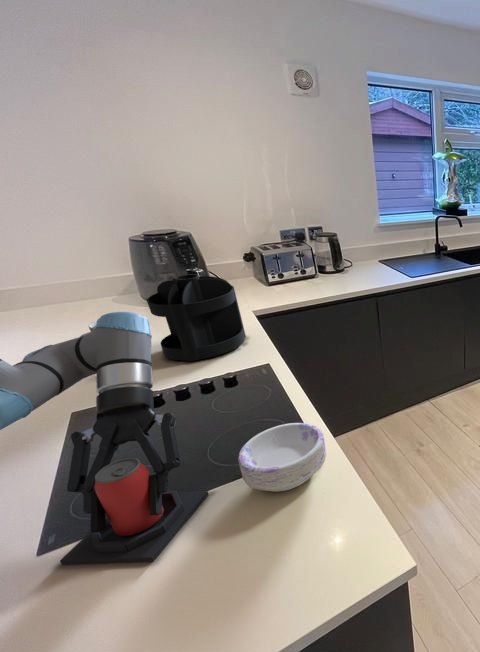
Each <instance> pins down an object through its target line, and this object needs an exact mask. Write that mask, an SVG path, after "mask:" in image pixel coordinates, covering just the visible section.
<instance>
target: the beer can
mask: <svg viewBox="0 0 480 652" xmlns="http://www.w3.org/2000/svg"><path fill="white" fill-rule="evenodd" d="M149 476H151V474H150V472H149V470H148V467H147V465H145V464H144V463H142V462H141V460H140V459H138V458H137V457H129V458H128V457H125V458H122V459H118V460H116V461H113V462H110V464H109V465H107V466H105V467H104V468H102V469H101V470H100V471H99V472H98V473H97V474H96V475H95V492H96V494H97V496H98V498H99V500H100V502H101V505H102V507H103V509H104V511H105V515H107V517H108V519H109V521H110V523H111V525H112V527H113V530H114V532H115V533H116V534H118V535H119V536H131V535H135V534H138V533H141V532H143V531H145V530H147V529H149V528H150V527H152V526H153V525H154V524H155V523H157V522H158V521H159V519H160V518H161V517H162V515H163V512H164V509H163V506H162V514H160V515H151V513H150V486H149Z"/></svg>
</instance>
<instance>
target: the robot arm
mask: <svg viewBox="0 0 480 652" xmlns="http://www.w3.org/2000/svg"><path fill="white" fill-rule="evenodd" d="M96 321H97V324H96V327H95V329H96V332H93V333H89V332H88V333H89V334H87V335H84V336H82V337H80V336H79V337H75V338H71V339H69V340H65V341H61V342H58V343H55V344H48V345H45V346H43V347H41V348H39V349H36V350H33V351H31V352H29V353H28V354H26V355H25V356H24V357H23V359H22V361H20V362H17V363H15V364H13V365H12V364H10V363H9V362H6V360H4V359H2V358H0V431H1V430H4V429H5V428H7V427H9V426H10V425H12V424H14V423H16V422H18V421H19V420H21V419H24V418H26V417H28V416H29V415H30V414H31V413H32V412H33V411H35V410H36V409H38V408H40V407H41V406H43V405H44V404H45V403H47V402H49V401H50V400H52V399H54V398H55V397H57V396H59V395H60V394H62V393H64V392H65V391H67V390H68V389H69V388H71V387H73V386H74V385H76V384H77V383H79V382H80V381H82V380H83V379H86V378H89V377H91V376H93V375H96V377H95V378H96V380H95V392H96V394H98V395H97V396H96V397H95V415H96V420H95V422H94V424H93V426H92V427H91V428H88V429H85V430H83V431H74V432H71V434H70V439H71V442H72V445H73V447H72V455H71V462H70V467H69V474H68V479H67V485H66V486H67V487H66V491H67V492H68V493H69V492H70V493H81V494H82V495H83V503H82V505H83V508H82V510H83V512H84V514H90V532H91V533H98V532H103V531H106V522H105V515H106V513H105V511H104V509H103V507H102V505H101V502H100V500H99V498H98V496H97V494H96V492H95V475H96V474H97V473H98V472H99V471H100V470H101V469H102V468H104V467H105V466H107V465H109V464H111V463H112V459H113V457H114V456H115V455H114V454H115V452H116V451H118V449H119V446H120V445H124V444H126V443H128V442H137V443H138V444H139V446H140V448H141V450H142V451H143V454H144V455H145V457H146V459H147V460H148V462H149V465H150V466H151V467H152V469H153V473H154V474H152V475H151V474H150V476H149V486H150V513H151V515H160V514H162V493H164V492H167V491H169V473H170V471H172V470H174V469H176V468H179V467H180V466H181V458H180V452H179V448H178V442H177V438H176V437H177V436H176V433H175V424H176V420H177V417H176V415H174V414H173V413H171V412H166V413H164V414H157V413H156V411H155V406H154V405H155V404H154V402H155V401H154V391H153V390H152V388H153V386H154V385H153V384H154V383H153V365H152V338H153V337H152V336H153V335H152V333H151V325H150V320H149V319H148V318H147V317H146V316H144V315H143V314H139V313H137V312H132V311H112V312H108V313H105V314H103V315H100V317H99V318H98V319H97V320H96ZM156 422H157V425H158V426H160V431H161V437H162V441H163V442H162V443H163V448H164V453H165V459H166V462H165V461H164V459H163V457H162V455H161V454H160V452H159V450H158V448H157V447H156V445H155V442H154V441H153V438H152V436H151V435H150V432H149V431H150V430H151V429H152V427H153V426H154V424H156ZM95 435H97V436H98V437H100V438H101V440H100V443H99V445H98V450H97V453H96V456H95V458H94V460H93V462H92V464H91V467H90V470H89V464H90V456H91V450H92V442H93V441H94V437H95Z"/></svg>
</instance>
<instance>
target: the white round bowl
mask: <svg viewBox="0 0 480 652" xmlns="http://www.w3.org/2000/svg"><path fill="white" fill-rule="evenodd" d="M325 441H326V440H325V436H324V433H323V431H322V430H321V429H320V428H319V427H317V426H316V425H314V424H311V423H305V422H290V423H284V424H279V425H276V426H273V427H269V428H268V429H266V430H264V431H261V432H258V433H257V434H256V435H254V436H253V437H252V438H250V439H249V440H248V441H247V442H246V443H245V444H243V446H242V447H241V449H240V451H239V453H238V459H237V460H238V465H239V470H240V473H241V476H242V479H243V481H244V483H245V484H246V485H247V486H248V487H250V488H252V489H254V490H258V491H268V492H275V493H276V492H286V491H290V490H292V489H295V488H297V487H299V486H301V485H302V484H304V483H306V482H307V481H308V480H309V479H310V478H311V477H312V476H314V475H315V474H316V473H317V472H318V471H320V469H321V468H322V467H323V465H324V464H325V461H326V459H327V458H326V457H327V449H326V443H325Z"/></svg>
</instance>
